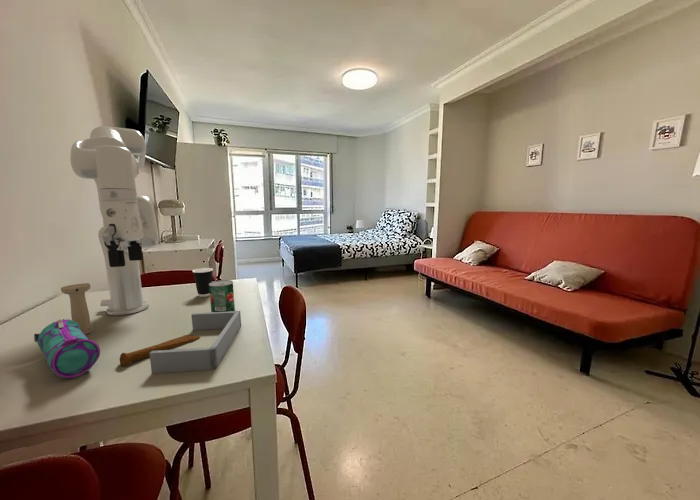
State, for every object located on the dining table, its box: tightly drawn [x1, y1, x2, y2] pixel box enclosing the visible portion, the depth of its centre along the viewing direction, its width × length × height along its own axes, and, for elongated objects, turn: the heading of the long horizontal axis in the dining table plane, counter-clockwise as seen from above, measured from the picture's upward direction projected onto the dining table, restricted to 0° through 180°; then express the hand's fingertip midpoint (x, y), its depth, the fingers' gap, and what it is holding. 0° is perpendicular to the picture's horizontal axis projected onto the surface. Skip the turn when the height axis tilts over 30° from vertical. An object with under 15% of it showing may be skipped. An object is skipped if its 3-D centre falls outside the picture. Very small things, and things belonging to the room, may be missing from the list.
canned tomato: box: [209, 279, 236, 312], centre depth 108 cm, size 8×8×11 cm
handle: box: [60, 282, 91, 336], centre depth 90 cm, size 5×6×15 cm
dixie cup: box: [192, 267, 214, 298], centre depth 129 cm, size 8×8×11 cm
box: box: [149, 310, 242, 374], centre depth 83 cm, size 14×25×5 cm, turn 7°
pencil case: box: [33, 318, 101, 379], centre depth 74 cm, size 21×9×10 cm, turn 52°
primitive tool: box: [119, 333, 201, 368], centre depth 81 cm, size 19×6×4 cm, turn 152°
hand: (127, 263), depth 80 cm, fingers open, 9 cm apart
